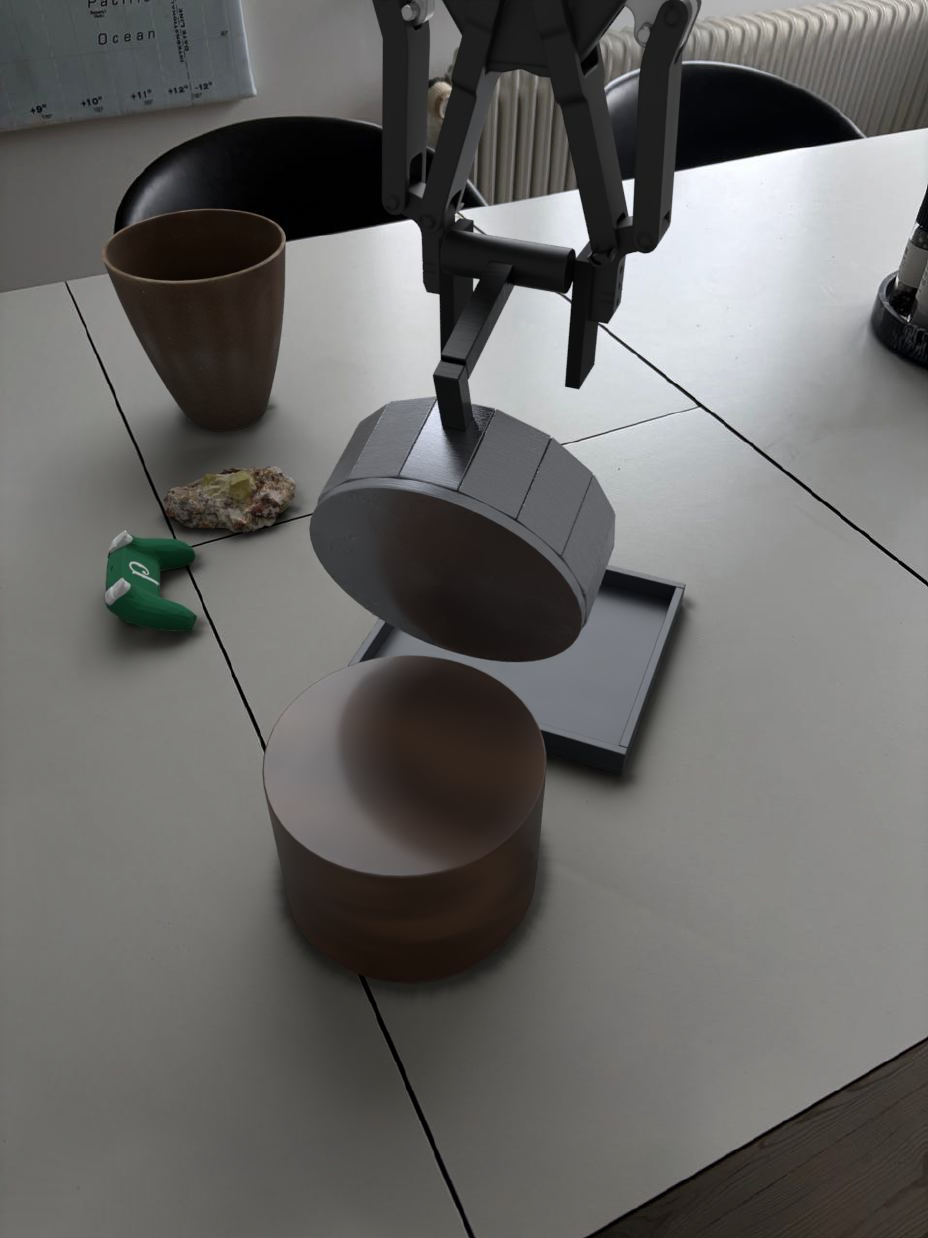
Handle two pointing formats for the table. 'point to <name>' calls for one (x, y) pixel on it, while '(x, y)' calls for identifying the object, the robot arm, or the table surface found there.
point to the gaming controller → (146, 581)
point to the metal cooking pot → (469, 495)
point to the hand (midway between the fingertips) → (517, 362)
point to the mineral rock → (232, 499)
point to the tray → (580, 668)
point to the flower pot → (205, 307)
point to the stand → (407, 815)
